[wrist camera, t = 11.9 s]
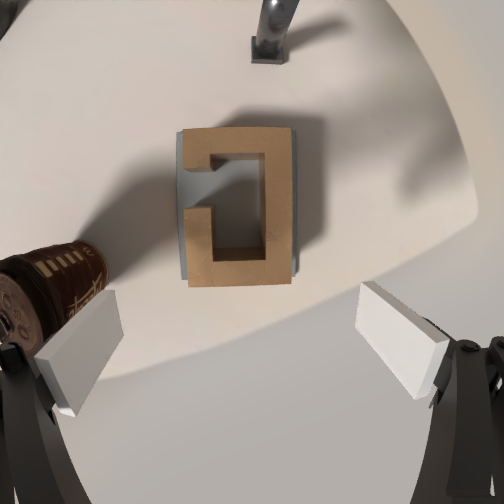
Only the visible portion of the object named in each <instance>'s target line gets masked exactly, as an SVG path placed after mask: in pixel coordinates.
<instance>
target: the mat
mask: <svg viewBox="0 0 504 504" xmlns="http://www.w3.org/2000/svg"><path fill="white" fill-rule="evenodd" d="M182 139H183V132H177V141H176V174H177V212H178V233H179V249H180V263H181V275H182V280H188V272H187V259H186V245H185V227H184V209H186V208H188V207H191V206H196V205H215V220H216V246H217V248H231V247H260V237H259V161H258V160H234V161H214V172H202V173H191V172H189V171H187V170H184V169H183V162H182ZM291 139H292V277H295V267H296V220H297V169H296V131H291Z"/></svg>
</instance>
